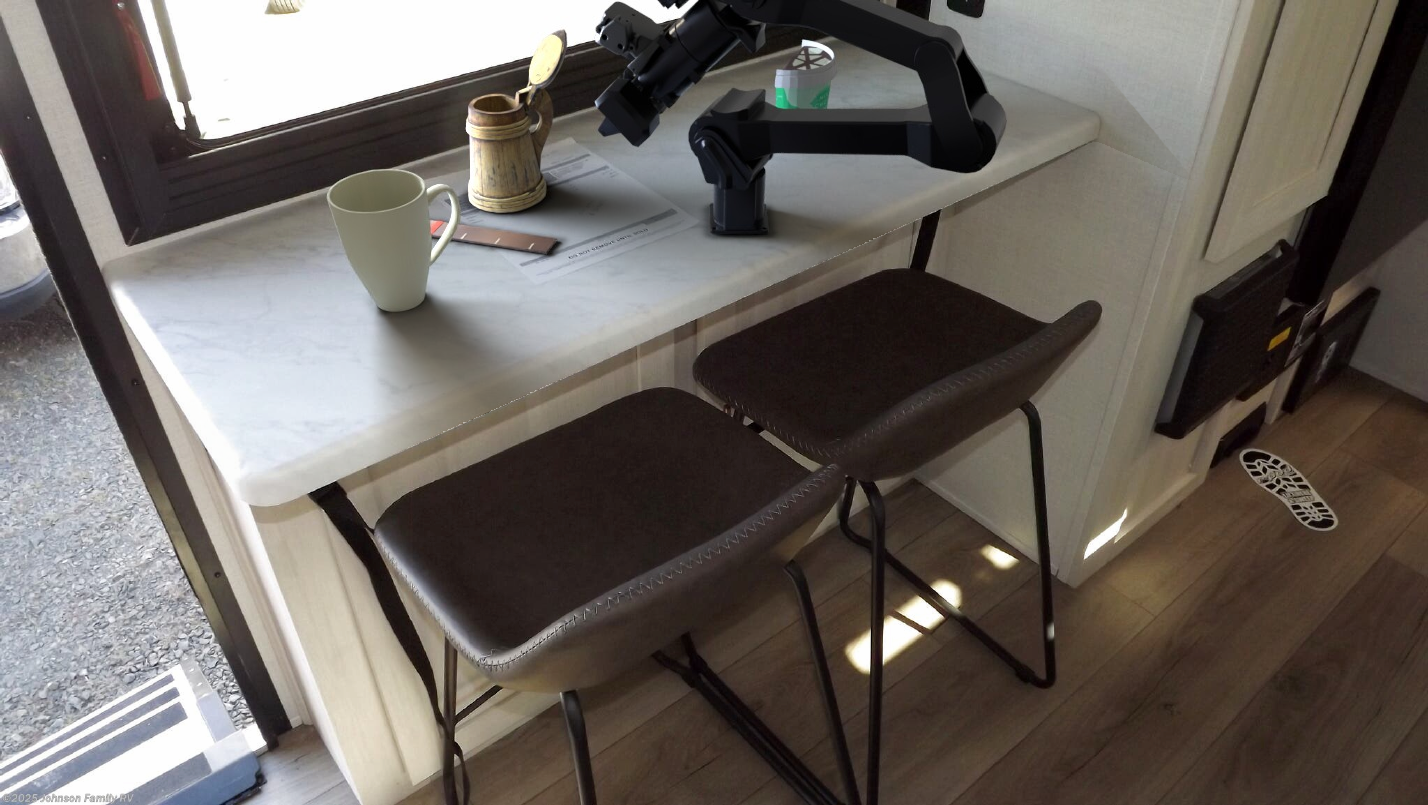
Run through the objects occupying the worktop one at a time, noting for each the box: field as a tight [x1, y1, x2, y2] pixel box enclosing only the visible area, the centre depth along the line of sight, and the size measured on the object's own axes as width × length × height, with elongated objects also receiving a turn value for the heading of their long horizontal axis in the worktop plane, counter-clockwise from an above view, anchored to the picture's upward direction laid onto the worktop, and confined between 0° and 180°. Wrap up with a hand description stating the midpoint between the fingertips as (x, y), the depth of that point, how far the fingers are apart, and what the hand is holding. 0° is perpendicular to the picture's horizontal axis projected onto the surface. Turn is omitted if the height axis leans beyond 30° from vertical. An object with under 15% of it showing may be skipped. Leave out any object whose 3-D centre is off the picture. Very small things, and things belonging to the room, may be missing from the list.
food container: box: [774, 39, 838, 109], centre depth 133 cm, size 12×6×10 cm, turn 160°
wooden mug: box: [465, 29, 568, 214], centre depth 117 cm, size 9×14×18 cm, turn 119°
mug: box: [326, 168, 462, 313], centre depth 101 cm, size 11×10×12 cm
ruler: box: [430, 219, 558, 255], centre depth 114 cm, size 20×3×1 cm, turn 75°
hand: (601, 132), depth 115 cm, fingers closed
